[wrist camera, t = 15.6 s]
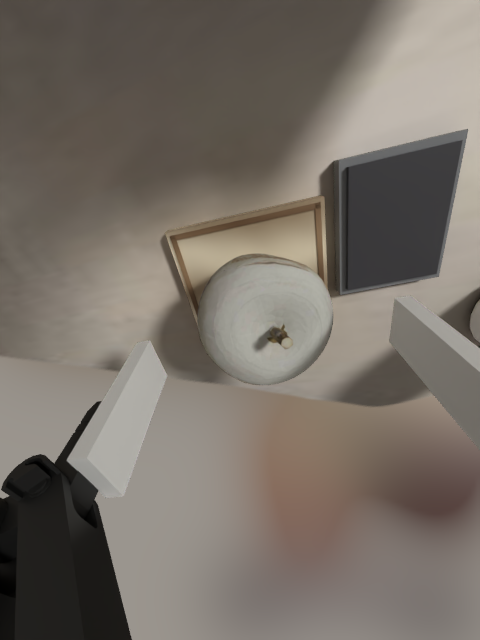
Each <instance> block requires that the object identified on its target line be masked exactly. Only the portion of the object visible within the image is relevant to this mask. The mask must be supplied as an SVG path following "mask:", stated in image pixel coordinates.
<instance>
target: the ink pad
mask: <svg viewBox="0 0 480 640" xmlns="http://www.w3.org/2000/svg"><path fill="white" fill-rule="evenodd" d="M467 133H468V129H466V130H461V131H456V132H452V133H448V134H443V135H439V136H435V137H431V138H427V139H423V140H419V141H415V142H410V143H406V144H402V145H398V146H394V147H390V148H386V149H381V150H377V151H373V152H369V153H365V154H361V155H357V156H353V157H348V158H344V159H340V160H336V161H334V213H335V265H336V291H337V292H338V293H339V294H340V295H343V294H348V293H353V292H359V291H364V290H370V289H375V288H380V287H386V286H391V285H396V284H402V283H407V282H413V281H418V280H423V279H429V278H434V277H439V273H440V268H441V263H442V258H443V253H444V248H445V243H446V238H447V233H448V228H449V223H450V218H451V213H452V208H453V203H454V198H455V193H456V188H457V183H458V178H459V173H460V168H461V163H462V158H463V153H464V148H465V143H466V138H467Z"/></svg>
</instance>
